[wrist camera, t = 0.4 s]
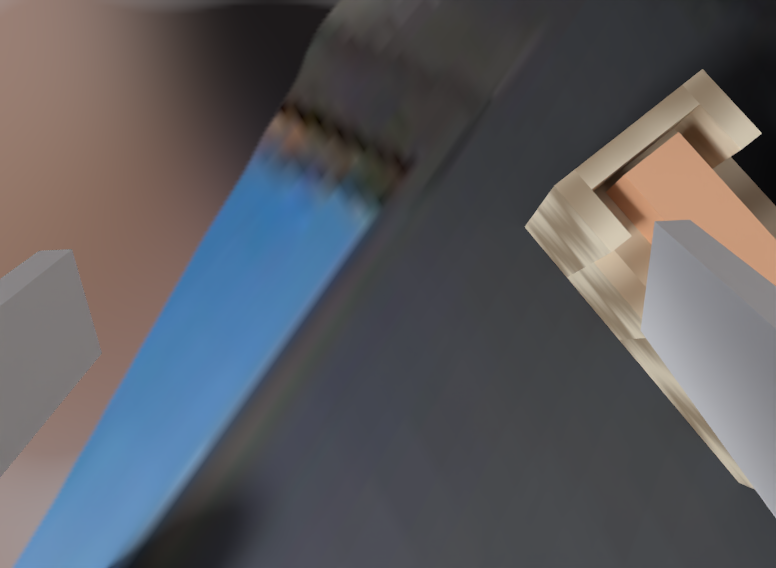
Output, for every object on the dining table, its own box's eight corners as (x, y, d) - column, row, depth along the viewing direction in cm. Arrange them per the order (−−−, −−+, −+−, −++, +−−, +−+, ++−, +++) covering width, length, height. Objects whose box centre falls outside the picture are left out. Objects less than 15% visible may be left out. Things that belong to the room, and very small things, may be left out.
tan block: (878, 404, 38) (930, 410, 34) (826, 446, 38) (872, 457, 34) (654, 153, 40) (678, 131, 36) (605, 192, 40) (624, 174, 36)
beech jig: (857, 387, 45) (1009, 400, 33) (738, 482, 45) (848, 529, 33) (636, 138, 48) (702, 69, 36) (524, 226, 48) (554, 185, 36)
